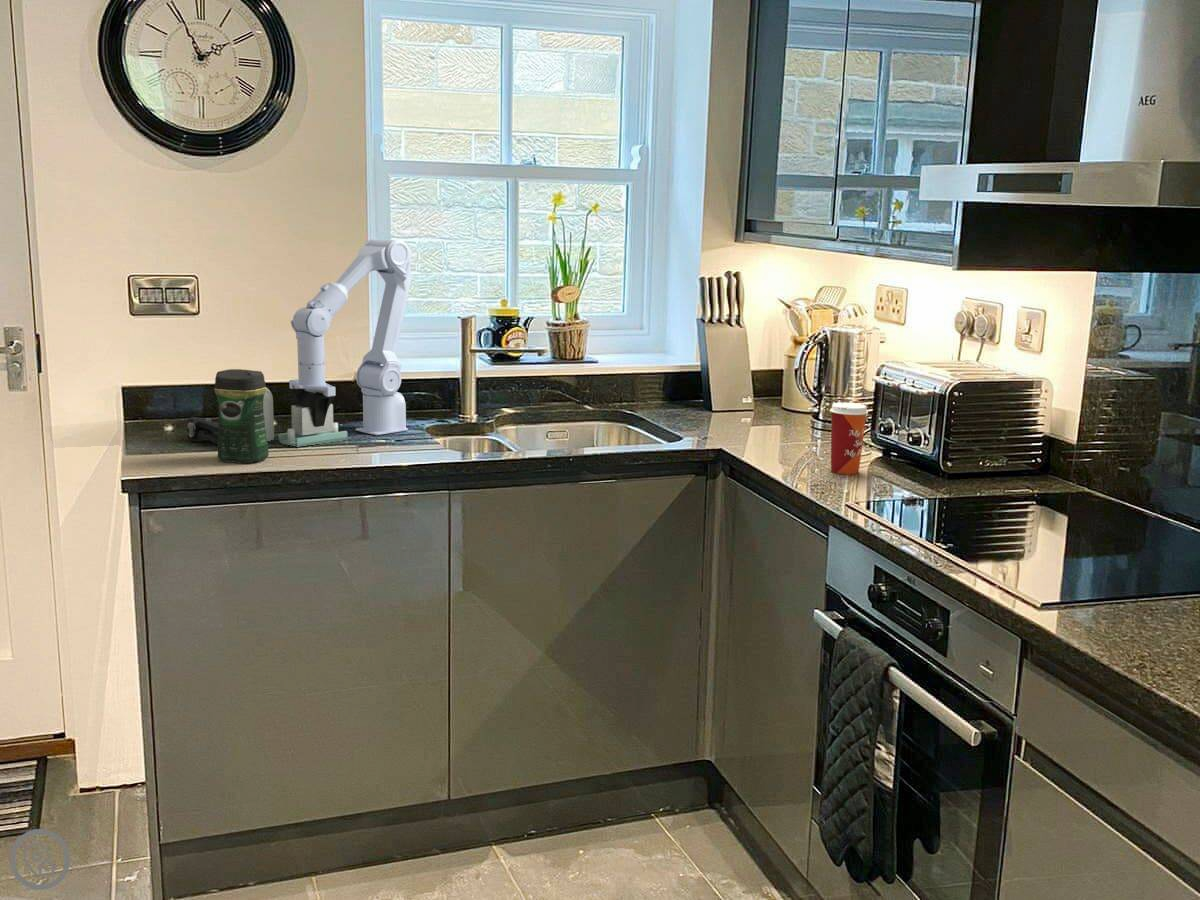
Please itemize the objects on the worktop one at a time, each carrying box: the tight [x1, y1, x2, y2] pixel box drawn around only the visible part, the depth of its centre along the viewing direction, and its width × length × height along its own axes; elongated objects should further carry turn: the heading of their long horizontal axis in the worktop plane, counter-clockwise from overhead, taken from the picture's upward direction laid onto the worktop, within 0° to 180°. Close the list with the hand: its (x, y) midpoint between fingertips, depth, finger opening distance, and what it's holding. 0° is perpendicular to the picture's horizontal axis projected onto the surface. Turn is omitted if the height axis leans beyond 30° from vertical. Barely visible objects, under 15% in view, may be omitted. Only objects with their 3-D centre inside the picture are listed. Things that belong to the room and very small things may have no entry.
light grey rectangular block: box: [290, 403, 334, 435], centre depth 255 cm, size 8×4×6 cm, turn 138°
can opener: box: [185, 416, 219, 445], centre depth 251 cm, size 18×7×6 cm, turn 51°
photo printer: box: [263, 387, 275, 442], centre depth 257 cm, size 10×4×12 cm, turn 39°
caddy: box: [278, 421, 349, 447], centre depth 256 cm, size 13×7×4 cm, turn 138°
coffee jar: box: [214, 368, 269, 464], centre depth 235 cm, size 10×8×19 cm
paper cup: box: [829, 402, 869, 476], centre depth 239 cm, size 8×8×14 cm
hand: (313, 424), depth 256 cm, fingers closed on light grey rectangular block, 4 cm apart
